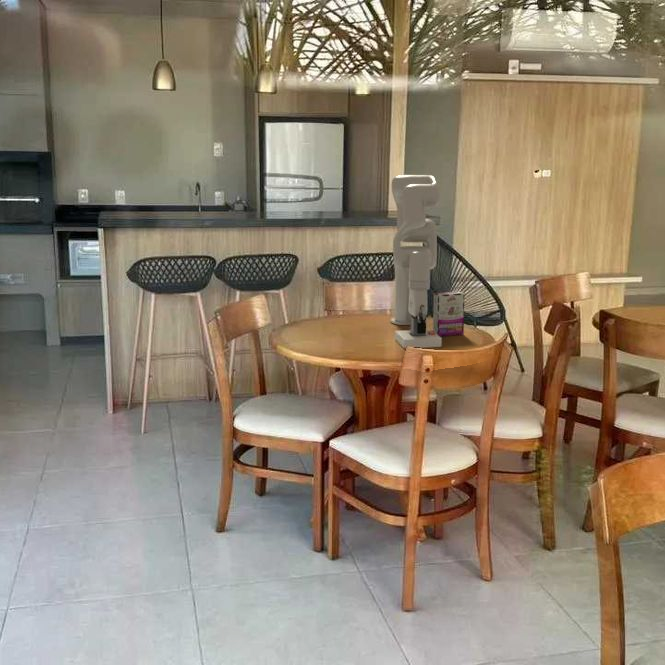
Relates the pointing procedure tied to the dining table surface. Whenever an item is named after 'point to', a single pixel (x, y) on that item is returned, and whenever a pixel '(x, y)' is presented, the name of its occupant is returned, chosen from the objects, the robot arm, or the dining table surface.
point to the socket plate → (418, 339)
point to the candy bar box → (448, 313)
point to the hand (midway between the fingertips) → (418, 330)
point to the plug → (415, 327)
